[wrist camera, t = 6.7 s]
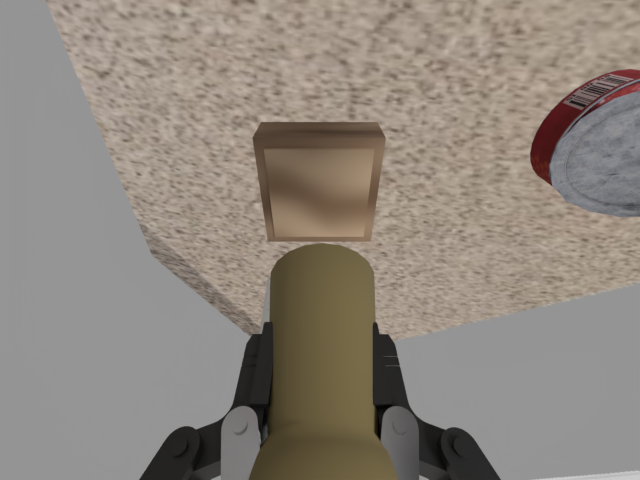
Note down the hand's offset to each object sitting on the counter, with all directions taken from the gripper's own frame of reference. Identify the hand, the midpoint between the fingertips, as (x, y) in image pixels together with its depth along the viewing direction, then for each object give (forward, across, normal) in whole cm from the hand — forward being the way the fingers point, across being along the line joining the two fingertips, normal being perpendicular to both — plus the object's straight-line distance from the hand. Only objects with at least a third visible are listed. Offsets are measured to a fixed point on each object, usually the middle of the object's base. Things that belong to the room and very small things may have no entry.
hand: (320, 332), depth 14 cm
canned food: (+18, -24, -4) cm, 30 cm away
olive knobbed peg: (+3, 0, 0) cm, 3 cm away
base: (+17, 0, 0) cm, 17 cm away
